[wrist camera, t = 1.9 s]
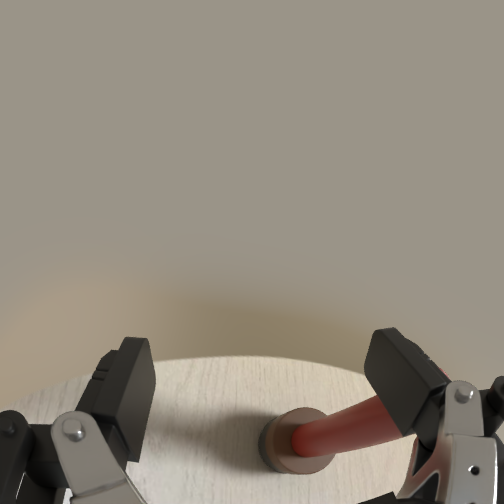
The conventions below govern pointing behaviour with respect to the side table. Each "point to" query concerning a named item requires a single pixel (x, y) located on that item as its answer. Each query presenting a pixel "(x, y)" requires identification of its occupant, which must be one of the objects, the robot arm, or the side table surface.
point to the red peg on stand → (324, 435)
